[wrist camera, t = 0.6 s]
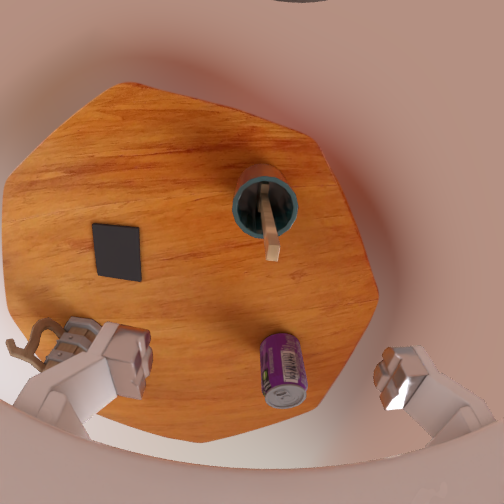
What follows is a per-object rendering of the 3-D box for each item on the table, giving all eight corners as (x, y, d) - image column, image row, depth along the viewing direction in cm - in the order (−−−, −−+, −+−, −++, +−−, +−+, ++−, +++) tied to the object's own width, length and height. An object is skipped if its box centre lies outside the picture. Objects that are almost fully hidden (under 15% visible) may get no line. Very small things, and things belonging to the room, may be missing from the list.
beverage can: (252, 341, 49) (252, 395, 38) (286, 323, 48) (295, 377, 37) (273, 363, 52) (277, 415, 41) (306, 347, 50) (317, 399, 39)
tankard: (129, 346, 50) (103, 406, 37) (103, 371, 54) (80, 422, 40) (50, 280, 44) (6, 327, 31) (34, 313, 48) (-1, 358, 34)
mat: (93, 222, 40) (91, 224, 39) (139, 227, 40) (137, 228, 40) (99, 273, 44) (97, 275, 43) (141, 280, 44) (140, 281, 43)
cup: (239, 160, 37) (236, 172, 28) (289, 167, 37) (302, 181, 28) (234, 208, 39) (229, 235, 30) (282, 214, 40) (291, 242, 31)
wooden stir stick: (260, 175, 37) (270, 228, 19) (266, 176, 37) (284, 230, 19) (256, 200, 38) (263, 274, 20) (263, 201, 38) (275, 275, 20)
